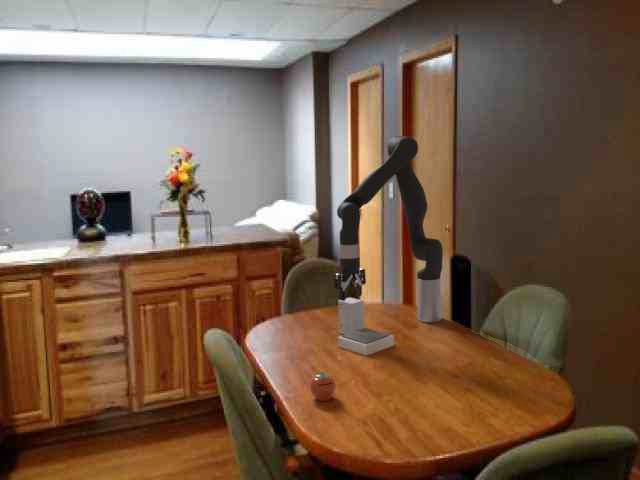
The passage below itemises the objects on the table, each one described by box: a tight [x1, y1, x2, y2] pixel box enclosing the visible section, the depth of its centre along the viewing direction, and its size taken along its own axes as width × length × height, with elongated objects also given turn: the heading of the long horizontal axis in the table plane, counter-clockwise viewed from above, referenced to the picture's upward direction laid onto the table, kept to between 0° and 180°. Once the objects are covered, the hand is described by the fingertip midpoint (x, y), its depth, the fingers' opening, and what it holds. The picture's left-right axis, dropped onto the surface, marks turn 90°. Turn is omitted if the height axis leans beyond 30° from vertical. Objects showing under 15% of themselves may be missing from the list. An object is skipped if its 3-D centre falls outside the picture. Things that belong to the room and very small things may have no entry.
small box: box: [337, 297, 366, 335], centre depth 218 cm, size 8×6×13 cm
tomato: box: [309, 370, 337, 402], centre depth 161 cm, size 7×7×8 cm
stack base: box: [337, 327, 395, 356], centre depth 204 cm, size 14×14×4 cm
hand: (350, 298), depth 217 cm, fingers open, 8 cm apart
